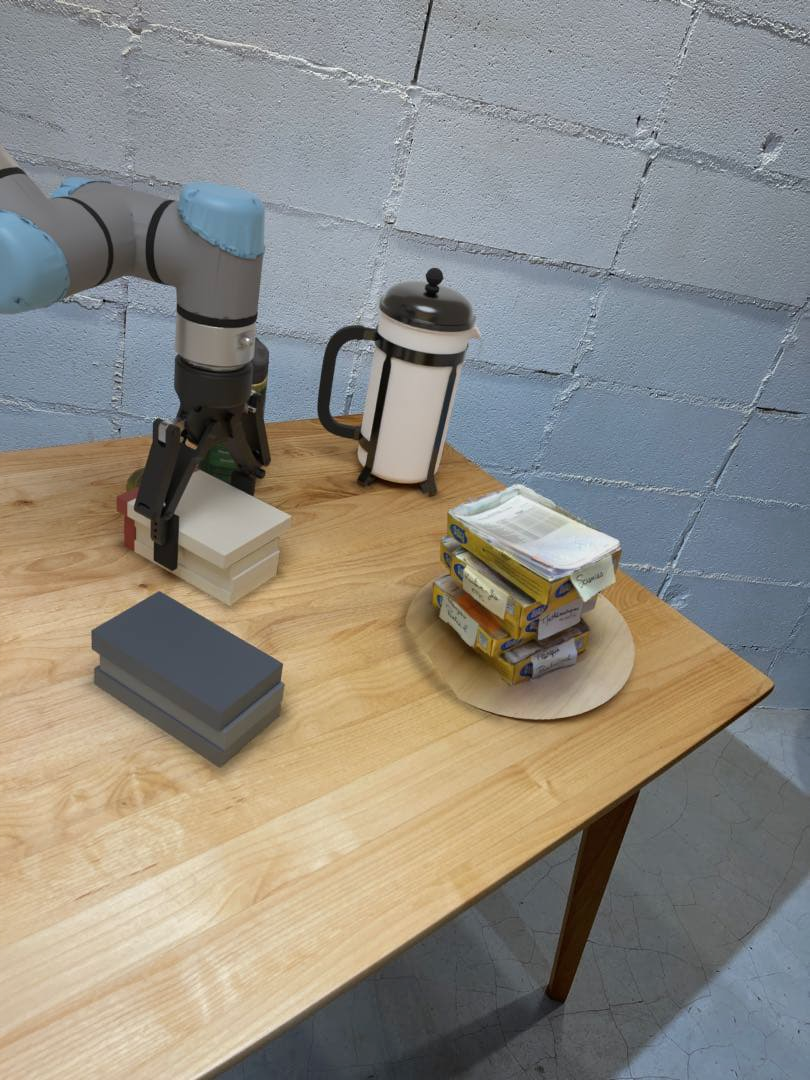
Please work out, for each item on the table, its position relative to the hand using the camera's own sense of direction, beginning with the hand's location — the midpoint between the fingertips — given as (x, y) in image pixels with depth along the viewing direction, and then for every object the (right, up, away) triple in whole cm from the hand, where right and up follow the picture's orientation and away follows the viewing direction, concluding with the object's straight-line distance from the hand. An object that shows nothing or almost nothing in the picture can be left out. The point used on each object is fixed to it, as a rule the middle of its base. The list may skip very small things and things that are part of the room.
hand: (203, 543), depth 91 cm
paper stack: (+35, -11, 0) cm, 36 cm away
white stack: (-1, -2, +1) cm, 3 cm away
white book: (+1, +3, -2) cm, 3 cm away
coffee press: (+20, +10, +27) cm, 35 cm away
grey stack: (+3, -14, -17) cm, 22 cm away
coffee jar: (-1, +9, +20) cm, 22 cm away
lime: (-9, +4, +9) cm, 14 cm away
